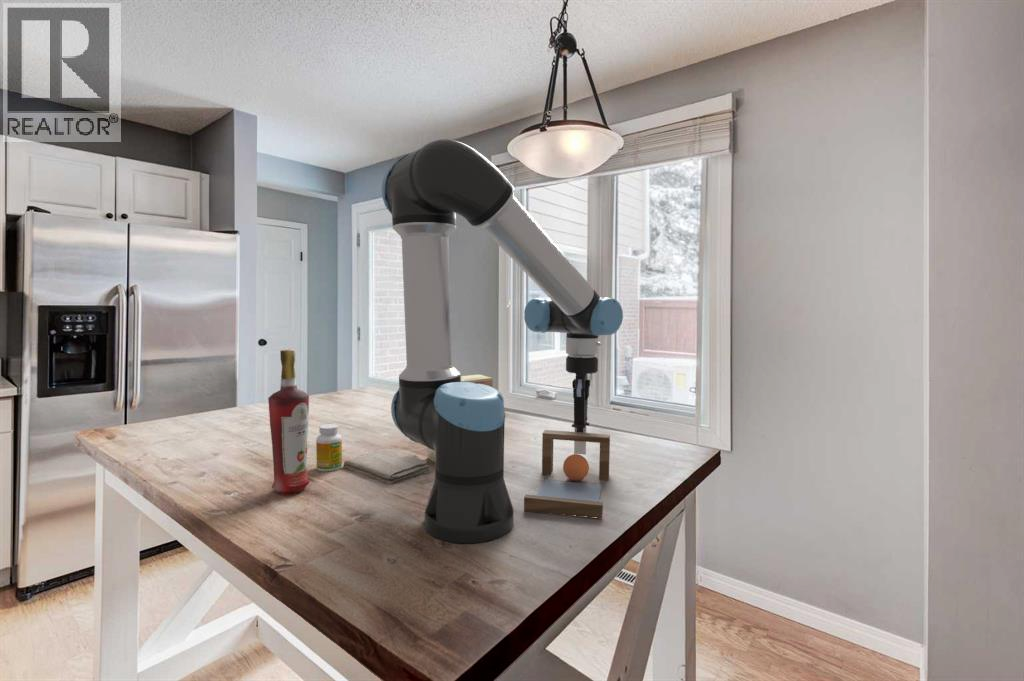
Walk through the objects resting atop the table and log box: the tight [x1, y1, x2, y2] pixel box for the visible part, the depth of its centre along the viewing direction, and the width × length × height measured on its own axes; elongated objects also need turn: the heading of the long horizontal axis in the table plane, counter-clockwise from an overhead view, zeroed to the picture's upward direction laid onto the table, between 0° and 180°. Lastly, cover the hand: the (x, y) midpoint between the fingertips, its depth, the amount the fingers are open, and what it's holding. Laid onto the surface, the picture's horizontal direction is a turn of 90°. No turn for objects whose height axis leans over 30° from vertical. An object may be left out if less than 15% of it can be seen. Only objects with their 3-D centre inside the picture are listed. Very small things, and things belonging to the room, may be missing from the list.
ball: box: [562, 454, 590, 482], centre depth 106 cm, size 6×6×6 cm
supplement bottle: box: [315, 423, 343, 473], centre depth 112 cm, size 5×5×10 cm
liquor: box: [267, 349, 310, 496], centre depth 97 cm, size 7×7×28 cm
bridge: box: [541, 429, 611, 480], centre depth 109 cm, size 3×14×9 cm, turn 76°
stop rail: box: [523, 493, 604, 519], centre depth 89 cm, size 2×14×2 cm, turn 77°
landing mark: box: [536, 479, 603, 502], centre depth 98 cm, size 12×12×1 cm
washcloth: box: [342, 447, 431, 485], centre depth 112 cm, size 12×18×3 cm, turn 53°
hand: (580, 453), depth 119 cm, fingers closed
